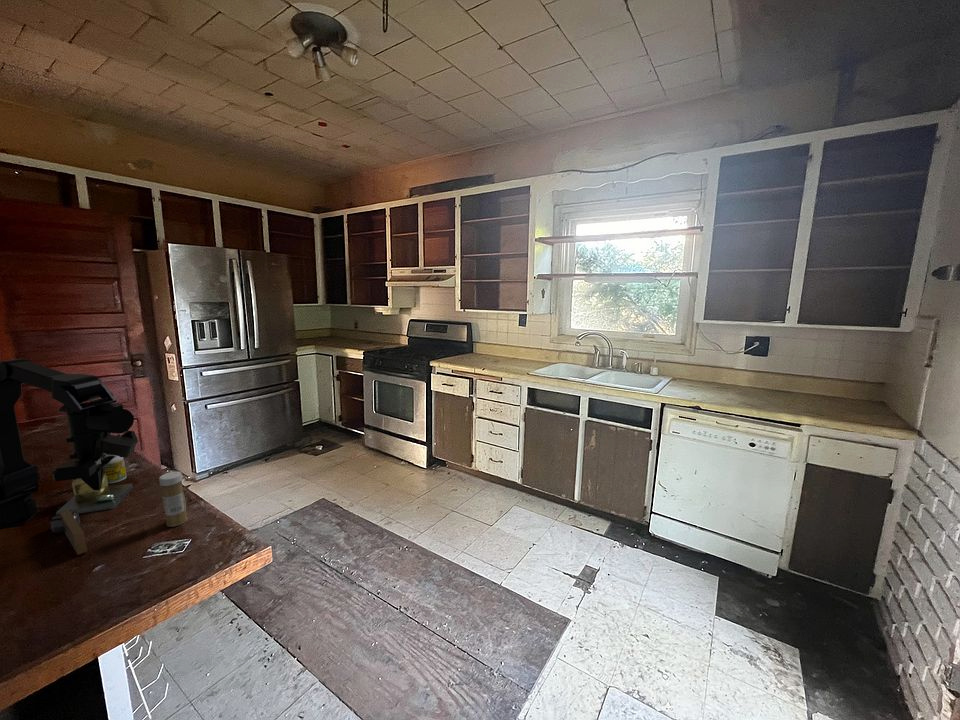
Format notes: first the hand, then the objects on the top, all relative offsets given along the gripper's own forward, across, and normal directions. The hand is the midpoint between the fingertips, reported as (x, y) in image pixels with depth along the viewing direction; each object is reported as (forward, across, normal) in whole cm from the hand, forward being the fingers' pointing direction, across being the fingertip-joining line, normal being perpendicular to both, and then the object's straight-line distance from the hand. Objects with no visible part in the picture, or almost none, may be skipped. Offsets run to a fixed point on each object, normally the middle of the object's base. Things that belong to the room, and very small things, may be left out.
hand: (97, 489), depth 97 cm
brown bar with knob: (+11, -1, +6) cm, 13 cm away
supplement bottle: (+12, +32, +10) cm, 36 cm away
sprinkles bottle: (+12, -1, -15) cm, 19 cm away
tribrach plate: (+12, +18, +9) cm, 24 cm away
